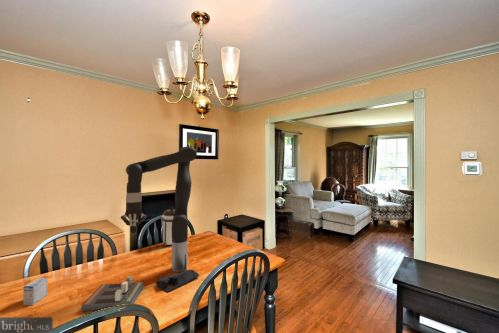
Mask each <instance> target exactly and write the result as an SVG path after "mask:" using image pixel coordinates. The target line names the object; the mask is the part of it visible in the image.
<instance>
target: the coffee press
mask: <svg viewBox="0 0 499 333" xmlns="http://www.w3.org/2000/svg"><path fill="white" fill-rule="evenodd" d="M174 212H175V208H174V207H173V206H170V208H169V209H167V210H164V212H163V213H162V215H161V217H160V218H162V221H163V230H162V232H163V234H162V235H163V245H162V246H163V248H165V247H167V246H169V245H171V246H172V220H173V217H174Z"/></svg>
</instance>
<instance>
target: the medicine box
mask: <svg viewBox="0 0 499 333" xmlns="http://www.w3.org/2000/svg"><path fill="white" fill-rule="evenodd" d="M22 295H23V296H22V297H23V299H22V300H23V303H22V305H23V306H34V305H35V304H37V303H38V302H40V301H41V300H42V299H43V298H45V297H46V296H48V277H38V278H36V279H34V280H33V281H31V282H29V283H28V284H26V285H24V286H23V294H22Z"/></svg>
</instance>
